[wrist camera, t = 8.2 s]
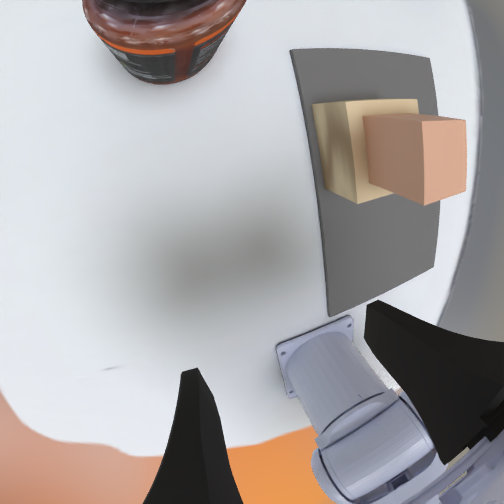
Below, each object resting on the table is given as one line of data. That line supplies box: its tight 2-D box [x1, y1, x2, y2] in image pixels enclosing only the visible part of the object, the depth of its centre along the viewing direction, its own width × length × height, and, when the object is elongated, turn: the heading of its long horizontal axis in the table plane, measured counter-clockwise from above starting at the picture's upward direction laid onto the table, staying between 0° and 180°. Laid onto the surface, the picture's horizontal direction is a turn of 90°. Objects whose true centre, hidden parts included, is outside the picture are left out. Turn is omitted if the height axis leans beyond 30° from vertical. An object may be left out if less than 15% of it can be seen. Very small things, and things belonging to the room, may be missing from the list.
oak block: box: [311, 99, 419, 204], centre depth 16 cm, size 6×6×4 cm
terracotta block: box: [362, 113, 467, 206], centre depth 13 cm, size 4×4×4 cm
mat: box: [290, 48, 440, 317], centre depth 21 cm, size 22×14×1 cm, turn 12°
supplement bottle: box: [82, 0, 246, 84], centre depth 8 cm, size 6×6×11 cm
